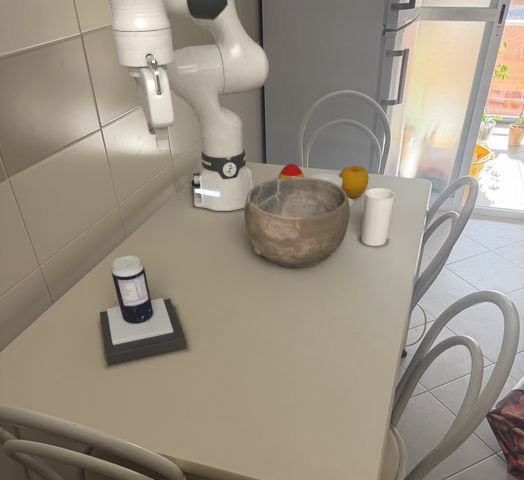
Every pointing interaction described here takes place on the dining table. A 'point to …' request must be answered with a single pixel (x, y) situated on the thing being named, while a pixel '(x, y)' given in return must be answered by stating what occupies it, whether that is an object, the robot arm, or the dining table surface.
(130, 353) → the scale
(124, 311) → the beverage can
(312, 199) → the bowl
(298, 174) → the decorative egg
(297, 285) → the dining table surface
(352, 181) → the apple
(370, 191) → the mug
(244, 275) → the dining table surface
